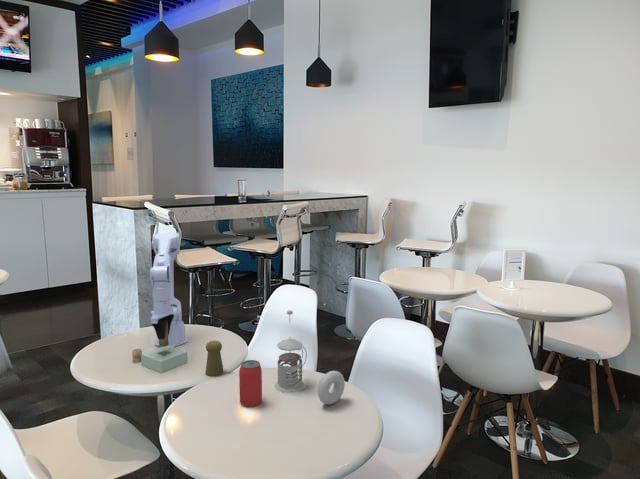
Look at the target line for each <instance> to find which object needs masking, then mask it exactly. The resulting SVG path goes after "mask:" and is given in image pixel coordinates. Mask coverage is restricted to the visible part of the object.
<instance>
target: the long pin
mask: <svg viewBox="0 0 640 479" xmlns="http://www.w3.org/2000/svg"><path fill="white" fill-rule="evenodd" d="M158 343H159V346H160V347H159V346H158V347H159V348H161V347H165V346H168V345H169V343H168V323H167V325H166V331H165V338H164V339H158Z"/></svg>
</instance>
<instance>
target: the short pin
mask: <svg viewBox="0 0 640 479" xmlns="http://www.w3.org/2000/svg"><path fill="white" fill-rule="evenodd" d="M131 352H132V354H131V356H132V363H133V364H138V363H139V364H140V363H141V354H143V350H142V349H141V348H135V349H132V351H131Z"/></svg>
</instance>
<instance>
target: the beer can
mask: <svg viewBox="0 0 640 479" xmlns="http://www.w3.org/2000/svg"><path fill="white" fill-rule="evenodd" d="M239 367H240V368H239V370H238V372H239V375H238V376H239V377H238V378H239V379H238V382H239V403H240V404H241V405H242V406H245V407H248V408H249V407H251V408H252V407H257V406H258V405H260V404H261V403H262V402H263V384H262V383H263V376H262V375H263V374H262V373H263V370H262V367H261V363H260V361H258V360H255V359H249V360H248V359H247V360H244V361H243V362H241V363H240V366H239Z"/></svg>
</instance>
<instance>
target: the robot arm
mask: <svg viewBox="0 0 640 479" xmlns="http://www.w3.org/2000/svg"><path fill="white" fill-rule="evenodd" d="M180 246H181V238H180V234H179V233H178V232H173V233H171V232H170V233H160V232H159V233H156V232H154V233H153V234H152V248H153V251H154V254H155V256H154V259H153V265H152V267H150V270H149V277H150V279H149V280H150V283H151V289H152V303H153V304H152V306H153V307H152V308H153V310H151V311H150V314H151V315H152V316H151V317H150V324H151V326H152V327H153V328H154V331H155V333H156V337H157V340H159V339H164V338H165V331H166V325H167V323H168V343H169V345H168V346H171V347H174V348H176V347H177V346H180V345H182V344H185V343H187V342H188V341H187V340H186V326H185V323H184V321H183V320H182V319H183V318H182V317H183V316H182V314H183V312H182V303H181V301H180V300H179V299H177V298H175V293H174V292H175V289H174V286H175V285H174V284H175V283H174V282H175V281H174V277H175V276H174V270H175V269H174V262H175V261H174V260H175V258H176V256H177V255H179V254H180V251H181V247H180ZM154 345H155V346H158V348H161V347H160V346H159V342H155V344H154Z"/></svg>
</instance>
